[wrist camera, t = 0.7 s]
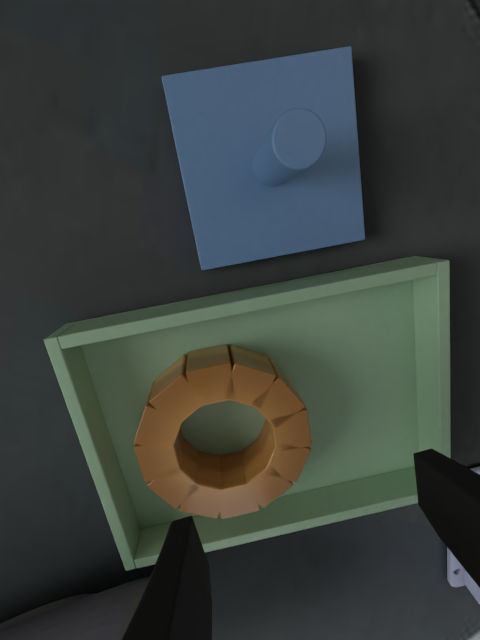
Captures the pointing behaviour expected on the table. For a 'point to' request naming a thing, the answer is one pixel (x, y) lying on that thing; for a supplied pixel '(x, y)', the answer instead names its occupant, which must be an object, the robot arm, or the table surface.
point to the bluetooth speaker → (79, 616)
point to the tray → (246, 421)
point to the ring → (229, 469)
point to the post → (269, 155)
